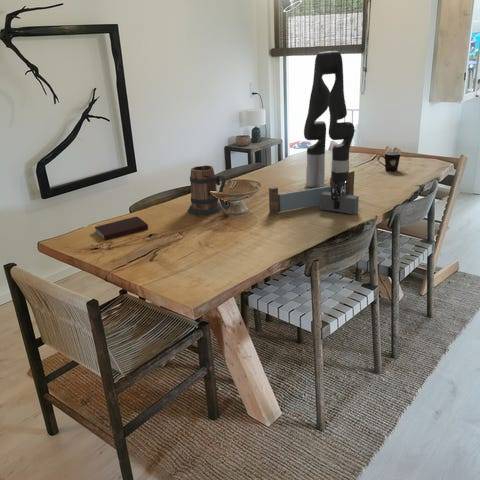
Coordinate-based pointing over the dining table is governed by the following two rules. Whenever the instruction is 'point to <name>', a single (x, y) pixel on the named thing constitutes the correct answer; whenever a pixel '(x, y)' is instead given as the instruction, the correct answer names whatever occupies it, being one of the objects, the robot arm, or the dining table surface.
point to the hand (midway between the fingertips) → (338, 206)
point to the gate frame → (274, 198)
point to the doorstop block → (340, 203)
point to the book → (121, 228)
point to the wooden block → (350, 184)
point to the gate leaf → (301, 198)
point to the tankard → (205, 191)
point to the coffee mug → (391, 161)
